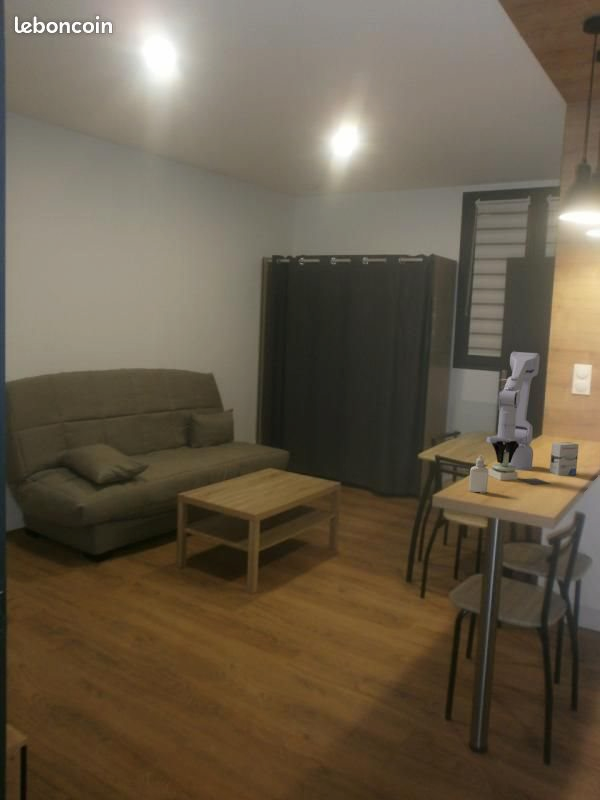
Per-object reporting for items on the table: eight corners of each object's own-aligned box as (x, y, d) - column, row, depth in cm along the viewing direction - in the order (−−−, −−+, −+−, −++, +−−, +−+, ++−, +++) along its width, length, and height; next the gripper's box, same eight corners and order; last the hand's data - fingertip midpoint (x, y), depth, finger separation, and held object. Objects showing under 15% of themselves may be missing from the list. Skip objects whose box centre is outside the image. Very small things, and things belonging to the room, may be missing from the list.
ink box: (566, 472, 248) (569, 441, 247) (576, 475, 244) (579, 444, 242) (548, 473, 245) (551, 442, 244) (558, 476, 241) (561, 444, 239)
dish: (504, 475, 238) (505, 467, 238) (517, 480, 232) (517, 472, 231) (488, 476, 236) (488, 468, 236) (500, 481, 229) (501, 473, 229)
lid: (505, 465, 238) (506, 449, 238) (520, 470, 231) (521, 454, 230) (487, 466, 235) (488, 450, 235) (502, 471, 228) (503, 455, 227)
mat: (536, 479, 235) (536, 478, 235) (551, 485, 228) (551, 483, 228) (517, 480, 232) (517, 479, 232) (532, 486, 225) (532, 485, 225)
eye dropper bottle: (483, 494, 211) (486, 457, 210) (466, 491, 215) (469, 455, 213) (488, 492, 215) (491, 455, 213) (472, 488, 218) (474, 453, 217)
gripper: (496, 426, 225) (493, 465, 227) (531, 426, 230) (528, 464, 232) (484, 423, 232) (481, 461, 234) (518, 422, 237) (515, 459, 238)
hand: (503, 462), depth 233 cm, fingers closed on lid, 3 cm apart
